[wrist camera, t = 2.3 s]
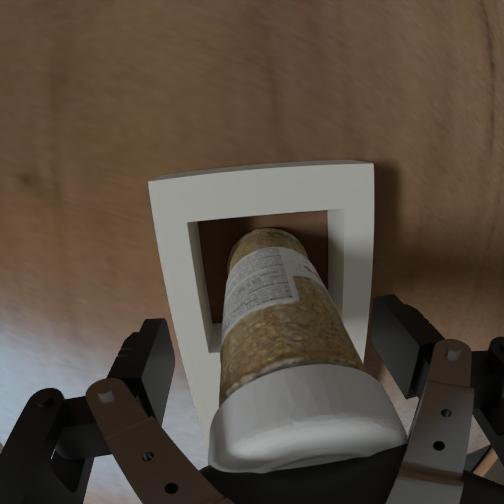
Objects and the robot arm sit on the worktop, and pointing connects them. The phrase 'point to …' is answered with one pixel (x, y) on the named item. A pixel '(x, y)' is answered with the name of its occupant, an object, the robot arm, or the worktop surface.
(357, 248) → the rail
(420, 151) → the worktop surface
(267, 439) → the sprinkles bottle
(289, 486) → the robot arm
